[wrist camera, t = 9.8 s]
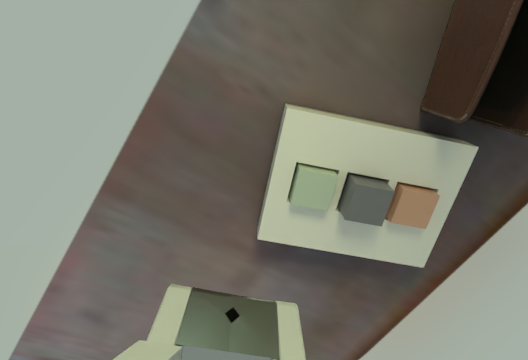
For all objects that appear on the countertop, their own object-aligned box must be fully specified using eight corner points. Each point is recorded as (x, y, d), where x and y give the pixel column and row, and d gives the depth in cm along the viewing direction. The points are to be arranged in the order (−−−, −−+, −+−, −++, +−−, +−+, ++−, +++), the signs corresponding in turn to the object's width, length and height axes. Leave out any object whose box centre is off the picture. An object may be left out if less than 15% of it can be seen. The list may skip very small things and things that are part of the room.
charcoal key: (348, 173, 34) (356, 184, 32) (384, 180, 35) (395, 191, 32) (338, 206, 36) (344, 219, 33) (372, 213, 36) (381, 226, 33)
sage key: (296, 159, 35) (299, 169, 32) (332, 166, 35) (338, 176, 33) (288, 192, 37) (290, 204, 34) (322, 199, 37) (327, 211, 34)
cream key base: (284, 102, 35) (286, 107, 31) (459, 138, 36) (478, 147, 33) (257, 224, 40) (257, 239, 37) (410, 250, 41) (423, 267, 38)
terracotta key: (392, 178, 36) (403, 188, 33) (426, 184, 36) (440, 195, 34) (381, 210, 37) (390, 222, 35) (413, 216, 38) (425, 229, 35)
